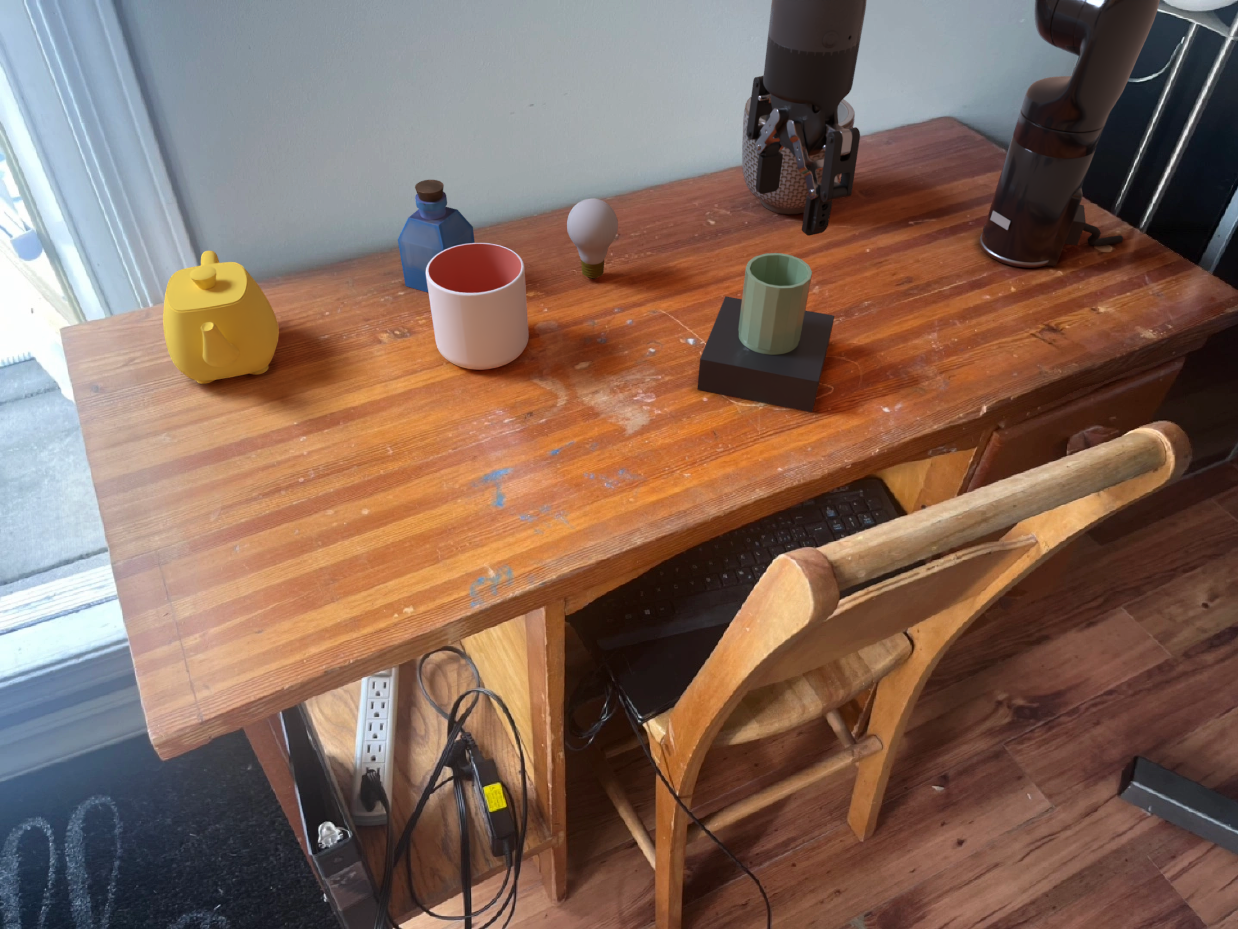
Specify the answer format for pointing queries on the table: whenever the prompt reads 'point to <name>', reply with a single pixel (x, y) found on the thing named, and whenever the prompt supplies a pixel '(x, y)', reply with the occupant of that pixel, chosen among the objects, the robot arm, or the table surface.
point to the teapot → (218, 321)
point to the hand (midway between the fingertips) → (789, 210)
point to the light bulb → (592, 233)
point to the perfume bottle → (430, 232)
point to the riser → (764, 362)
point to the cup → (478, 305)
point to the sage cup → (774, 303)
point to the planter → (785, 168)
